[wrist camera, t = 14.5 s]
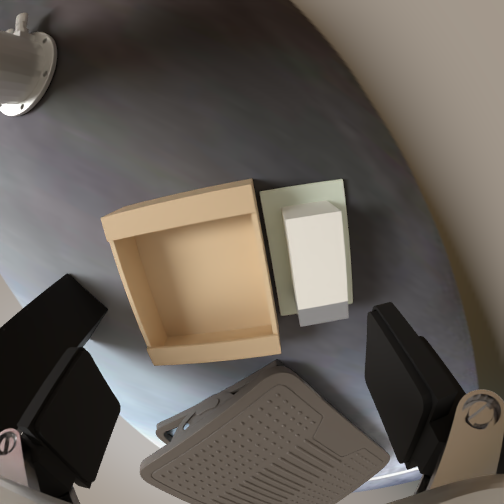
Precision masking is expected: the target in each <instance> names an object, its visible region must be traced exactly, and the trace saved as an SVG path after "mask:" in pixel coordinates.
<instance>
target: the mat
mask: <svg viewBox="0 0 504 504" xmlns="http://www.w3.org/2000/svg"><path fill="white" fill-rule="evenodd" d="M260 197H261V203H262V208H263V214H264V220H265V225H266V231H267V237H268V242H269V248H270V254H271V260H272V265H273V271H274V277H275V283H276V289H277V295H278V301H279V307H280V313H281V316H285V315H291V314H297V309H296V304H295V300H294V293H293V286H292V279H291V272H290V265H289V258H288V251H287V245H286V238H285V232H284V225H283V219H282V213H281V207H285V206H291V205H298V204H304V203H311V202H317V201H324V200H327V201H328V202H330V203H331V204H332V205H334V206H335V207H337V208H338V209H339V210H341V213H342V223H343V234H344V245H345V258H346V273H347V292H348V304H351V303H353V293H352V272H351V257H350V243H349V231H348V221H347V211H346V202H345V193H344V185H343V179H337V180H330V181H323V182H316V183H309V184H302V185H296V186H289V187H283V188H277V189H271V190H265V191H260Z"/></svg>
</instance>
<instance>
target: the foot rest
mask: <svg viewBox="0 0 504 504" xmlns="http://www.w3.org/2000/svg"><path fill="white" fill-rule="evenodd" d="M186 423H188V424H190V425H189V427H188V428H187V429H186V430H184V426H185V424H186ZM176 427H178V428H177V430H176V432H175V434H174V436H173V437H172V436H170V435H169V434H168V433H167V432H166V431H169V430H171V429H174V428H176ZM156 435H157V437H158V438H159V439H160V440H162V441H163V442H164V443H166V444H167V445H165V446H164V447H162V448H161V449H159V450H158V451H156V452H155V453H153V454H152V455H150V456H149V457H147V458H146V459H144V460H143V461H142V463H141V465H140V475H141V477H142V478H143V480H145V481H146V482H147V483H149V484H151V485H153V486H155V487H157V488H159V489H160V490H162V491H165V492H166V493H169V494H171V495H173V496H175V497H177V498H179V499H181V500H183V501H186V502H188V503H191V504H335V503H337V502H338V501H340V500H341V499H343V498H344V497H346V496H347V495H349V494H350V493H351V492H353V491H354V490H356V489H357V488H358V487H360V486H361V485H362V484H364V483H365V482H366V481H368V480H369V479H370V478H372V477H373V476H374V475H375V474H377V473H378V472H379V471H380V470H381V469H383V468H384V467H385V466H386V465H387V463H388V462H389V460H390V456H389V454H388V453H387V452H386V451H385V450H384V449H383V448H382V447H381V446H379V445H378V444H377V443H376V442H374V441H373V440H372V439H371V438H370V437H368V436H367V435H366V434H365V433H363V432H362V431H361V430H360V429H359V428H357V427H356V426H355V425H354V424H353V423H352V422H350V421H349V420H348V419H347V418H346V417H344V416H343V415H342V414H341V413H340V412H339V411H337V410H336V409H335V408H334V407H333V406H332V405H331V404H329V403H328V402H327V401H326V400H325V399H324V398H323V397H321V396H320V395H319V394H318V393H317V392H316V391H315V390H314V389H313V388H312V387H311V386H310V385H308V384H307V383H306V382H305V381H304V380H303V379H302V378H300V377H299V376H298V375H297V374H296V373H295V372H293V371H292V370H291V369H289V368H287V367H284V364H283V363H282V362H280V361H279V360H278V359H276V360H275V361H273V362H271V363H270V364H268V365H267V366H265V367H263V368H262V369H260V370H258V371H257V372H255V373H253V374H251V375H250V376H248V377H246V378H245V379H243V380H241V381H239V382H238V383H236V384H234V385H232V386H231V387H229V388H227V389H225V390H223V391H221V392H220V393H218V394H215V395H213V396H211V397H209V398H207V399H205V400H204V401H202V402H201V403H199V404H197V405H195V406H193V407H191V408H189V409H187V410H185V411H183V412H181V413H179V414H177V415H175V416H173V417H171V418H169V419H166V420H164V421H162V422H160V423H158V424H157V430H156Z"/></svg>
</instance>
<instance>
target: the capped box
mask: <svg viewBox="0 0 504 504" xmlns="http://www.w3.org/2000/svg"><path fill="white" fill-rule="evenodd" d="M281 213H282V219H283V225H284V232H285V238H286V245H287V251H288V258H289V265H290V272H291V279H292V286H293V293H294V300H295V304H296V309H297V313H298V318H299V323H300V327H302V326H308V325H314V324H319V323H325V322H330V321H335V320H341V319H346V318H348V292H347V273H346V258H345V245H344V234H343V223H342V213H341V210H339V209H338V208H337V207H335V206H334V205H332V204H331V203H330V202H328V201H327V200H324V201H317V202H311V203H304V204H298V205H291V206H285V207H281Z"/></svg>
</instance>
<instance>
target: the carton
mask: <svg viewBox="0 0 504 504" xmlns="http://www.w3.org/2000/svg"><path fill="white" fill-rule="evenodd" d="M101 221H102V225H103V228H104V232H105V235H106V239H107V242H110V245H111V249H112V252H113V255H114V258H115V261H116V265H117V268H118V271H119V274H120V277H121V280H122V282H123V285H124V288H125V291H126V294H127V297H128V299H129V302H130V305H131V307H132V310H133V313H134V315H135V318H136V320H137V323H138V325H139V328H140V330H141V333H142V335H143V338H144V340H145V342H146V345H147V351H148V354H149V356H150V358H151V360H152V363H153V365H154V366H158V365H178V364H193V363H205V362H217V361H227V360H236V359H245V358H253V357H261V356H268V355H275V354H281V346H280V336H279V326H278V319H277V314H276V308H275V302H274V296H273V290H272V285H271V279H270V273H269V268H268V262H267V256H266V251H265V245H264V240H263V234H262V228H261V223H260V217H259V212H258V206H257V201H256V196H255V190H254V185H253V180H252V179H247V180H242V181H236V182H231V183H226V184H221V185H216V186H211V187H206V188H201V189H196V190H192V191H187V192H183V193H178V194H174V195H169V196H165V197H161V198H157V199H153V200H148V201H144V202H140V203H136V204H133V205H129V206H125V207H123V208H120V209H118V210H116V211H114V212H112V213H110V214H108V215H106V216H104V217H102V218H101Z"/></svg>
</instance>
